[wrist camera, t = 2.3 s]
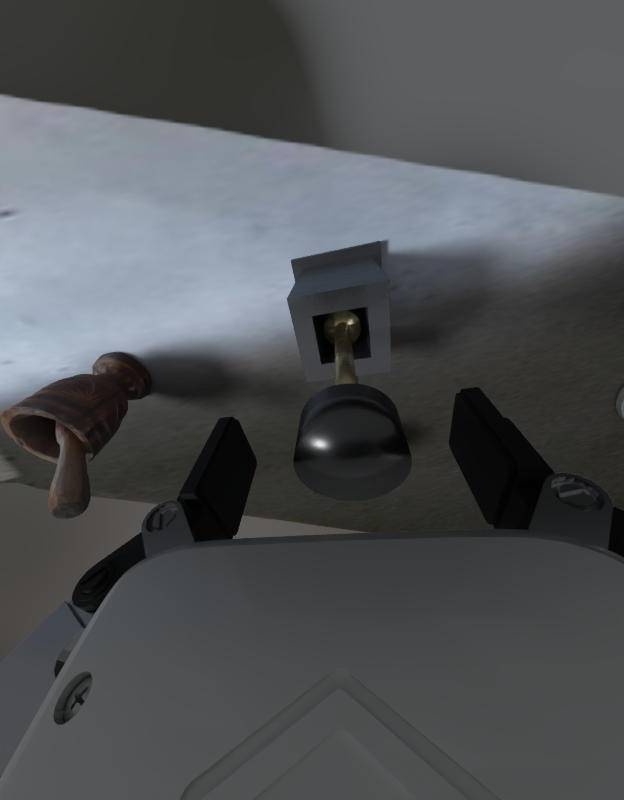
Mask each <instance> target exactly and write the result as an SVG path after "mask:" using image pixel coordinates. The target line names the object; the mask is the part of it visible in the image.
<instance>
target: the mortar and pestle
mask: <svg viewBox="0 0 624 800" xmlns="http://www.w3.org/2000/svg"><path fill="white" fill-rule="evenodd" d="M150 388H151V380H150V375H149V373H148V372H147V371H146V369H144V367H143V366H142V365H141V364H139V363H138V362H137V361H135V360H134V359H132V358H130V357H128V356H126V355H124V354H120V353H107V354H104V355H102V356H100V357H99V359H98V360H97V361H96V362H95V364H94V365H93V375H92V374H80V375H76V376H73V377H70V378H65V379H62V380H59V381H56V382H54V383H52V384H50V385H48V386H46V387H44V388H42V389H41V390H39V391H38V392H36V393H34V394H33V395H32V396H30V397H28V398H26V399H24V400H23V401H21V402H20V403H18V404H16V405H14V406H12V407H11V408H9V409H7V410H4V411H3V412H2V417H1V421H2V425H3V427H4V429H5V430H6V432H7V433H8V435H9V436H10V437H12V438H13V439H14V440H15V441H16V443H17V444H18V445H20V446H22V447H24V448H25V449H26V450H27V451H29V452H31V453H32V454H34V455H37V456H39V457H41V458H43V459H46V460H49V461H52V462H54V463H57V464H58V465H57V468H56V472H55V475H54V478H53V481H52V484H51V489H50V494H49V500H48V502H49V510H50V512H51V513H52V515H53V516H55V517H56V518H60V519H68V518H73V517H75V516H78V515H80V514H81V513H83V512H84V511H85V510H86V509H87V507H88V504H89V502H90V496H91V494H90V485H89V478H88V474H87V462H89V461H91V460H93V458H94V457H95V456H96V455H97V454H98V453H99V452H100V451H101V449H102V448H103V447H104V446H105V444H107V443H108V442H109V440H110V439H111V438H112V437H113V436H114V434H115V433H116V431H117V430H118V428H119V427H120V424H121V421H122V419H123V418H124V416H125V415H126V413H127V410H128V401H127V400H136V399H141V398H143V397H145V396H147V394H148V393H149V391H150Z"/></svg>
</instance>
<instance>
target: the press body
mask: <svg viewBox="0 0 624 800" xmlns="http://www.w3.org/2000/svg"><path fill="white" fill-rule="evenodd" d="M291 264H292V268H293V273H294V278H295V284H294V286H293V288H292V290H291V292H290V294H289V296H288V298H287V301H288V306H289V310H290V314H291V318H292V322H293V326H294V330H295V335H296V339H297V343H298V347H299V351H300V355H301V360H302V364H303V368H304V372H305V376H306V380H307V382H314V381H321V380H329V379H335V345H333V344H331V343H330V342H329V341H328V340H327V339H326V337H325V335H324V322H325V319H326V318H327V316H328V315H329V314H330V313H333V312H339V311H344V310H352V311H353V312H355V313H356V314H357V316H358V317H359V320H360V324H361V332H360V335H359V337H358V338H357V340H356V341H355V342H354V343H352V350H353V358H354V366H355V373H356V381H357V384H358V376H360V375H367V374H375V373H383V372H390V371H391V337H390V299H389V279H388V278H387V277H386V275H385V274H384V273H383V271H382V270H381V253H380V242H379V241H377V242H373V243H368V244H363V245H358V246H354V247H349V248H344V249H340V250H335V251H330V252H325V253H321V254H316V255H311V256H306V257H302V258H297V259H292V260H291Z"/></svg>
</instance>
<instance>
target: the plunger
mask: <svg viewBox="0 0 624 800" xmlns="http://www.w3.org/2000/svg"><path fill="white" fill-rule="evenodd" d="M360 332H361V324H360V320H359V317H358V316H357V314H356V313H355V312H353V311H352V310H344V311H339V312H333V313H330V314H329V315H328V316H327V318H326V319H325V322H324V335H325V337H326V339H327V340H328V341H329V342H330V343H331V344H333V345H335V385H334V386H331V387H328V388H326V389H323V390H321V391H320V392H318V393H316V394H315V395H314V396H313V397H311V399H310V400H309V401H308V402H307V403H306V405H305V406H304V408H303V410H302V413H301V417H300V423H299V429H298V435H297V442H296V448H295V454H294V468H295V472H296V474H297V476H298V477H299V479H300V480H301V481H302V482H303V484H305V485H306V486H307V487H308V488H310V489H311V490H313V491H314V492H316V493H318V494H320V495H323V496H326V497H329V498H333V499H338V500H346V501H358V500H367V499H372V498H376V497H379V496H382V495H384V494H386V493H388V492H390V491H392V490H394V489H395V488H396V487H398V486H399V485H400V484H401V483H402V482H403V481H404V480H405V479H406V477H407V476H408V474H409V472H410V469H411V464H412V458H411V453H410V450H409V447H408V444H407V440H406V437H405V434H404V431H403V428H402V424H401V421H400V418H399V415H398V411H397V409H396V407H395V405H394V403H393V402H392V400H391V399H390V398H389V397H388V396H387V395H385V394H384V393H383V392H381V391H379V390H377V389H375V388H373V387H370V386H367V385H362V384H357V381H356V373H355V366H354V358H353V350H352V343H354V342H355V341H356V340H357V338H358V337H359V335H360Z"/></svg>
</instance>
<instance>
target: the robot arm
mask: <svg viewBox="0 0 624 800" xmlns="http://www.w3.org/2000/svg"><path fill="white" fill-rule="evenodd" d="M616 409H617V412H618V414H619V415H620V417H621V418H623V419H624V387H623V388H622V390H621V391H620V393H619V395H618V398H617V401H616ZM449 445H450V449H451V451H452V453H453V455H454V457H455V459H456V461H457V463H458V465H459V467H460V469H461V471H462V473H463V475H464V477H465V479H466V481H467V483H468V485H469V487H470V489H471V491H472V493H473V495H474V498H475V500H476V502H477V504H478V506H479V508H480V510H481V512H482V514H483V516H484V518H485V520H486V521H487V523H488V524H493V526H494V528H495V529H465V530H430V531H403V532H376V533H353V534H328V535H304V536H285V537H262V538H243V539H232V538H233V536H235V535H236V534H237V532H238V528H239V525H240V522H241V518H242V515H243V511H244V508H245V504H246V501H247V497H248V494H249V490H250V487H251V483H252V480H253V476H254V473H255V470H256V466H257V461H256V458H255V455H254V453H253V451H252V449H251V447H250V445H249V442H248V440H247V438H246V436H245V434H244V432H243V429H242V427H241V425H240V423H239V421H238V420H237V419H234V417H225V418H220V419H219V420H218V422H217V423H216V425H215V427H214V429H213V431H212V433H211V435H210V437H209V439H208V440H207V442H206V444H205V446H204V448H203V450H202V452H201V454H200V456H199V457H198V459H197V461H196V463H195V465H194V467H193V469H192V471H191V472H190V474H189V476H188V478H187V480H186V482H185V484H184V486H183V488H182V489H181V491H180V493H179V497H178V499H177V500H168V501H164V502H162V503H160V504H158V505H157V506H156V507H154V508H153V509H152V510H151V511H150V512H149V513H148V514H147V516H146V517H145V519H144V520H143V523H142V528H141V531H142V532H141V533H139V534H138V535H137V536H135V537H134V538H132V539H131V540H130V541H128V542H127V543H125V544H124V545H122V546H121V547H120V548H118V549H117V550H115V551H114V552H113V553H112V554H110V555H108V556H107V557H106V558H104V559H103V560H101V561H100V562H99V563H97V564H96V565H94V566H93V567H92V568H91V569H89V570H88V571H87V572H86V573H85V574H84V576H83V577H82V578H81V579H80V581H79V582H78V584H77V585H76V587H75V589H74V592H73V595H72V600H71V601H70V602H69V603H67V602H65V601H64V602H63V603H62V604H61V605H60V606H59V607H58V608H57V609H56V610H55V611H54V612H53V613H52V614H51V615H50V616H49V617H48V618H47V619H45V620H44V621H43V622H42V623H41V624H40V625H39V626H38V627H37V628H36V629H35V630H34V631H33V632H32V633H31V634H30V635H29V636H28V637H27V638H26V639H25V640H24V641H23V642H22V643H21V644H19V646H18V647H16V648H15V649H14V650H13V651H12V652H11V653H10V654H9V655H8V656H7V657H6V658H5V659H4V660H3V661H2V662H1V663H0V800H624V511H623V510H620V509H618V508H616V507H613V503H612V499H611V498H610V496H609V495H608V493H607V492H606V491H605V490H604V489H603V488H602V487H600V486H599V485H597V484H596V483H594V482H593V481H591V480H589V479H586V478H584V477H582V476H579V475H575V474H571V473H554V471H553V470H552V469H551V468H550V467H549V465H548V464H547V463H546V462H545V461H544V460H543V458H542V457H541V456H540V455H539V454H538V452H537V451H536V450H535V449H534V448H533V447H532V445H531V444H530V443H529V442H528V441H527V439H526V438H525V437H524V436H523V435H522V433H521V432H520V431H519V430H518V429H517V428H516V426H515V425H514V424H513V423H512V422H511V421H510V420H509V419H508V418H504V417H503V416H502V415H501V414H500V412H499V411H498V410H497V409H496V408H495V406H494V405H493V404H492V403H491V401H490V400H489V399H488V398H487V397H486V395H485V394H484V393H483V392H482V391H481V389H480V388H478V387H474V388H466V389H461V391H460V393H457V394H456V396H455V403H454V410H453V417H452V424H451V431H450V439H449Z"/></svg>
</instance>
